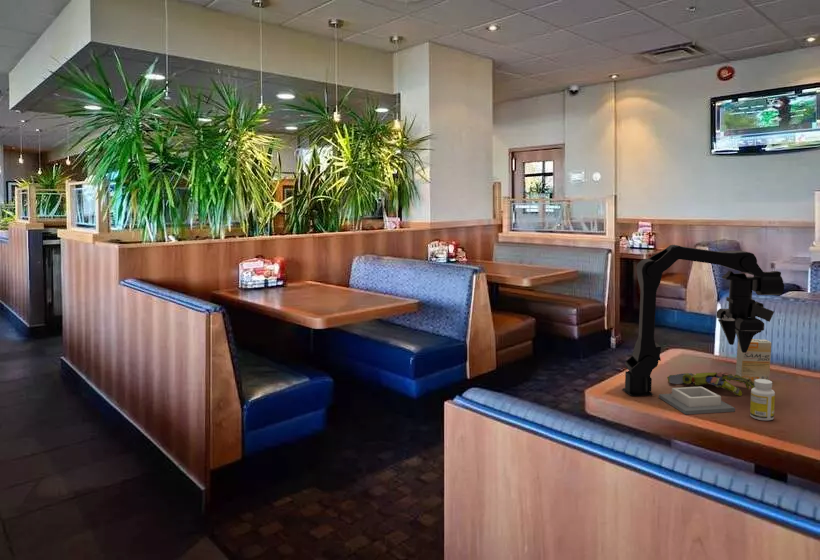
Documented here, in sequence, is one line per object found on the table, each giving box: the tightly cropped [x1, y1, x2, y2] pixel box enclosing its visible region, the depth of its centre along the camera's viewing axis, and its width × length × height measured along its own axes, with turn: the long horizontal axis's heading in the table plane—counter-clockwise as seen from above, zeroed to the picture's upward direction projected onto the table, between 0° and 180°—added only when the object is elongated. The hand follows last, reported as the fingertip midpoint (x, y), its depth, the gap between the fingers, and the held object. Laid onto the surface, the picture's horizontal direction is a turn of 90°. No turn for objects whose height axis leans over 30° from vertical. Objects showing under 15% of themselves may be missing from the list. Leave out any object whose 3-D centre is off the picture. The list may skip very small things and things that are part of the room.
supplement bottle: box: [749, 379, 776, 421], centre depth 155 cm, size 5×5×10 cm
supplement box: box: [735, 338, 772, 382], centre depth 185 cm, size 8×5×13 cm, turn 80°
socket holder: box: [658, 385, 736, 415], centre depth 166 cm, size 14×14×4 cm
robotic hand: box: [667, 371, 755, 397], centre depth 180 cm, size 12×7×25 cm
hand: (737, 348), depth 172 cm, fingers open, 9 cm apart
